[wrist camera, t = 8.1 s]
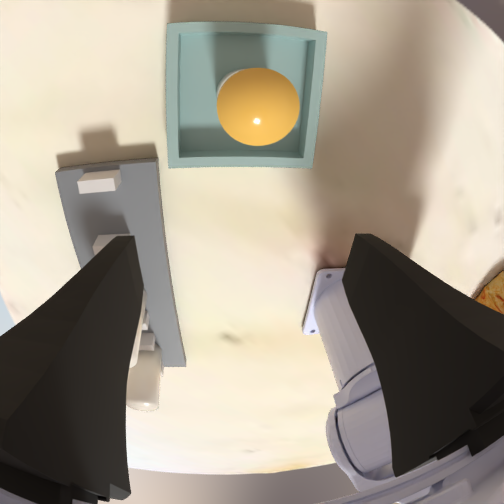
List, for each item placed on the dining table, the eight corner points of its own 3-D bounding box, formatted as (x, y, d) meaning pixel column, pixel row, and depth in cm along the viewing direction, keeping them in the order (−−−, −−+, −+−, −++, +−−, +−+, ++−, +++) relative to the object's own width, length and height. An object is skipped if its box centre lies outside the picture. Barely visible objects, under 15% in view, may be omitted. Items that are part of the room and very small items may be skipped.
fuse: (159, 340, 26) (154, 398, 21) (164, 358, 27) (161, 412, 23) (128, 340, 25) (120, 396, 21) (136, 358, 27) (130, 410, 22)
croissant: (507, 226, 29) (533, 246, 22) (539, 262, 29) (563, 286, 22) (422, 335, 39) (429, 369, 32) (459, 358, 39) (468, 392, 32)
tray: (316, 34, 13) (327, 32, 12) (303, 158, 18) (312, 168, 17) (171, 27, 12) (167, 23, 11) (172, 158, 17) (168, 168, 16)
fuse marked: (274, 71, 14) (305, 75, 10) (266, 122, 16) (292, 149, 11) (218, 65, 14) (221, 63, 9) (212, 117, 16) (213, 142, 11)
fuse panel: (158, 157, 17) (151, 170, 15) (186, 360, 29) (186, 378, 27) (60, 168, 16) (45, 181, 14) (123, 359, 28) (120, 376, 27)
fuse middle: (143, 279, 21) (131, 343, 17) (150, 307, 23) (141, 369, 18) (107, 280, 21) (88, 342, 16) (116, 307, 23) (102, 367, 18)
